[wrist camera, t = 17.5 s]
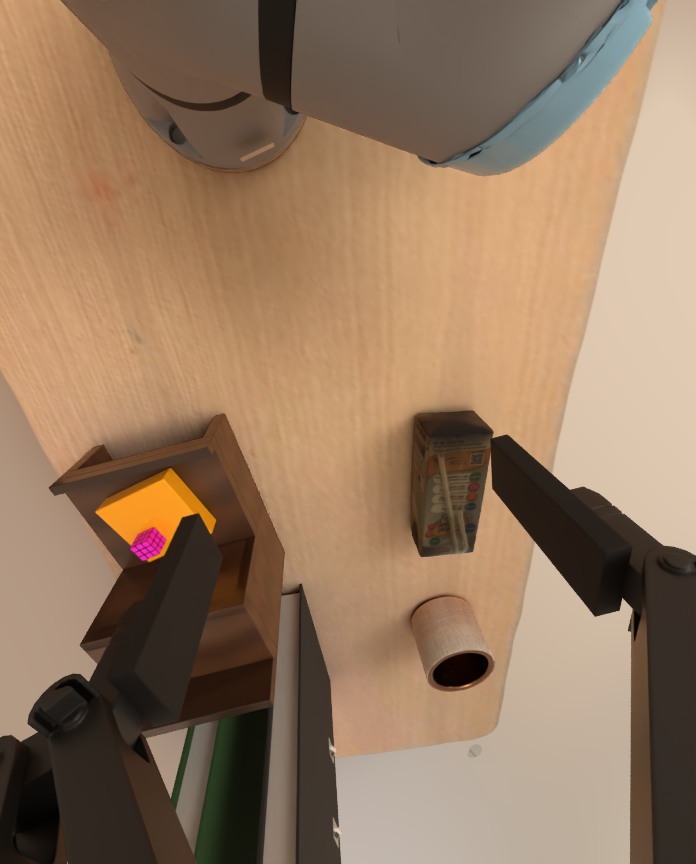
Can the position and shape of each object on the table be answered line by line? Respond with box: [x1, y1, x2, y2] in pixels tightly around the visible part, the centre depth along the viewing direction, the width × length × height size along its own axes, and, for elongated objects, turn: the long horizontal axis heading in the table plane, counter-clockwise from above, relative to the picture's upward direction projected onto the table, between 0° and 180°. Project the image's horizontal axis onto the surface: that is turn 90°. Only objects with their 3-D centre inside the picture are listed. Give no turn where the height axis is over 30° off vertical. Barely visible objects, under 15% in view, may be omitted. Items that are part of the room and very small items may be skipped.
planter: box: [411, 596, 495, 692], centre depth 58 cm, size 11×11×10 cm
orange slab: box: [96, 468, 216, 562], centre depth 36 cm, size 8×8×4 cm
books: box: [171, 584, 341, 864], centre depth 47 cm, size 27×15×32 cm, turn 7°
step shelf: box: [49, 414, 285, 738], centre depth 38 cm, size 23×16×20 cm
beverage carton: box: [411, 411, 494, 557], centre depth 46 cm, size 8×19×7 cm, turn 2°
